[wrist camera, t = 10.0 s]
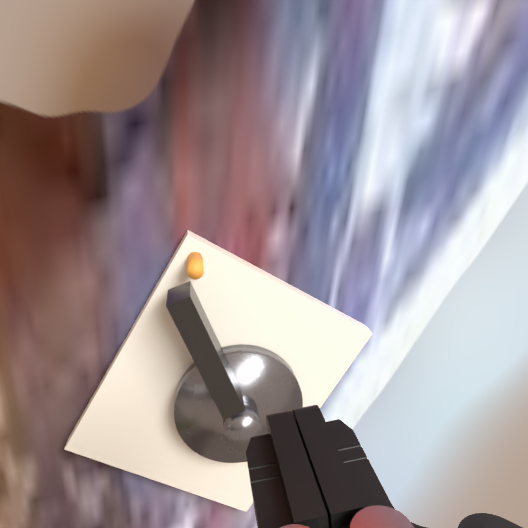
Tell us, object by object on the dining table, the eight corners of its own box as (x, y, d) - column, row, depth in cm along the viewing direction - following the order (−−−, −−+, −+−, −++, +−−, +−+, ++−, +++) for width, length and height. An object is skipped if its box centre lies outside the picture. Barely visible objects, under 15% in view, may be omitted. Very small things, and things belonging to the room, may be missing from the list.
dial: (314, 422, 41) (328, 457, 37) (204, 468, 41) (206, 508, 37) (244, 251, 35) (252, 270, 31) (114, 305, 35) (103, 331, 31)
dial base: (244, 499, 45) (250, 539, 41) (68, 437, 40) (54, 475, 36) (366, 325, 41) (386, 350, 37) (187, 229, 36) (187, 245, 31)
